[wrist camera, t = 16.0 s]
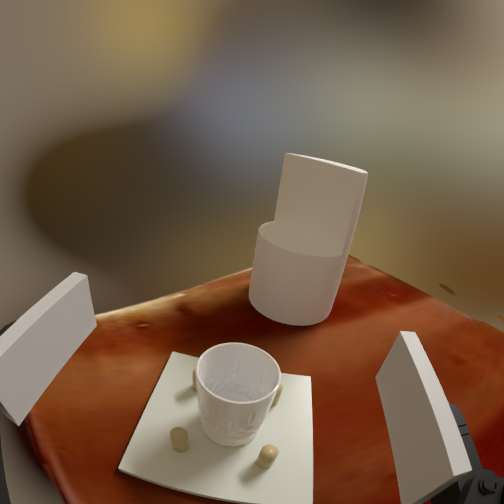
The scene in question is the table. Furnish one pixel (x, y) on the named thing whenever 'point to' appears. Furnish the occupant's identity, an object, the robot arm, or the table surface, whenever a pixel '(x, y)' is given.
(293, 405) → the standoff plate
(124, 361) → the table surface
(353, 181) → the cylinder
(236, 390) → the white cup
